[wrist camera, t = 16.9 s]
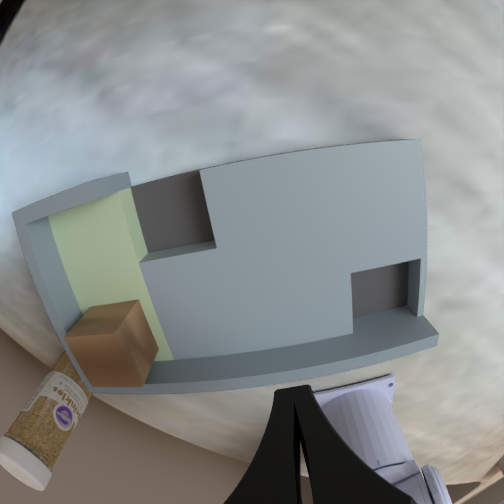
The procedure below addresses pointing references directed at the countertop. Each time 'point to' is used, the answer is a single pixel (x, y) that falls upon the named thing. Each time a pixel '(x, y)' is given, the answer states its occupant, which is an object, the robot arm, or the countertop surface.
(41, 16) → the countertop surface
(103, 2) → the countertop surface
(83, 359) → the block
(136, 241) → the grey pocketed tray
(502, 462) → the lumpy-topped squat cylinder
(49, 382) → the sprinkles bottle
